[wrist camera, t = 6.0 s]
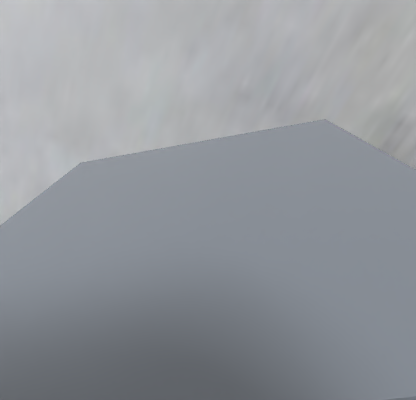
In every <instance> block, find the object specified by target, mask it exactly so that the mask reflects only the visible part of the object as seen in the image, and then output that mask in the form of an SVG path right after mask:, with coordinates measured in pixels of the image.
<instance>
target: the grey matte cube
mask: <svg viewBox="0 0 416 400" xmlns="http://www.w3.org/2000/svg"><path fill="white" fill-rule="evenodd" d="M0 400H416V170H415V169H414V168H412V167H410V166H408V165H407V164H405V163H403V162H401V161H399V160H398V159H396V158H394V157H392V156H390V155H389V154H387V153H385V152H383V151H381V150H380V149H378V148H376V147H374V146H372V145H371V144H369V143H367V142H365V141H363V140H362V139H360V138H358V137H356V136H354V135H353V134H351V133H349V132H347V131H346V130H344V129H342V128H340V127H338V126H337V125H335V124H333V123H331V122H329V121H328V120H326V119H324V120H319V121H313V122H307V123H302V124H296V125H290V126H285V127H279V128H274V129H268V130H262V131H257V132H251V133H245V134H240V135H234V136H229V137H223V138H217V139H212V140H206V141H200V142H195V143H189V144H184V145H178V146H172V147H167V148H161V149H155V150H150V151H144V152H139V153H133V154H127V155H122V156H116V157H110V158H105V159H99V160H94V161H88V162H82V163H80V164H78V165H77V166H76V167H75V168H73V169H72V170H71V171H70V172H68V173H67V174H66V175H64V176H63V177H62V178H61V179H59V180H58V181H57V182H55V183H54V184H53V185H52V186H50V187H49V188H48V189H46V190H45V191H44V192H43V193H41V194H40V195H39V196H38V197H36V198H35V199H34V200H32V201H31V202H30V203H29V204H27V205H26V206H25V207H23V208H22V209H21V210H20V211H18V212H17V213H16V214H15V215H13V216H12V217H11V218H9V219H8V220H7V221H6V222H4V223H3V224H2V225H0Z"/></svg>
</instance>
